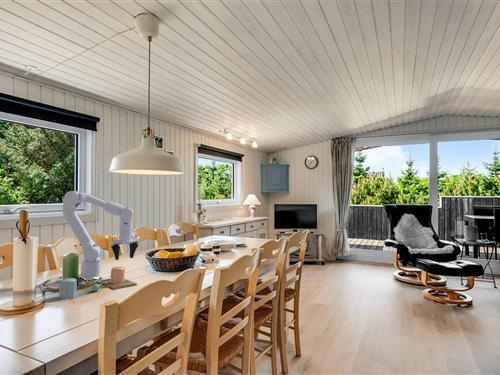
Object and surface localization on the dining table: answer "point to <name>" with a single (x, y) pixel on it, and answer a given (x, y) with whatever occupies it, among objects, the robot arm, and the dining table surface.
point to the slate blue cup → (67, 288)
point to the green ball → (95, 287)
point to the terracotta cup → (117, 275)
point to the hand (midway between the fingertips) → (124, 258)
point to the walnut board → (117, 286)
